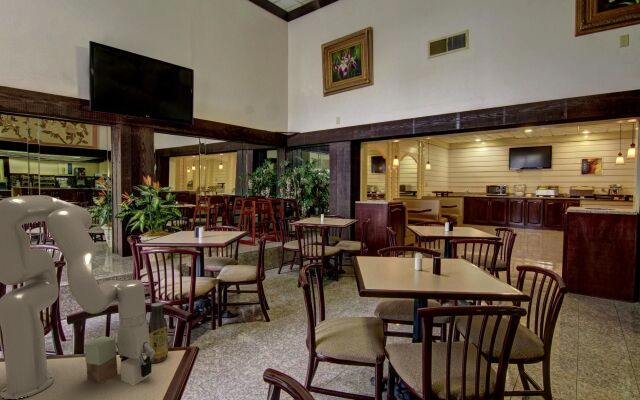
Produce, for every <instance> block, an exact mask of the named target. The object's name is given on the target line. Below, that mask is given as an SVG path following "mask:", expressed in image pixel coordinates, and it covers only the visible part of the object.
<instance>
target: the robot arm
mask: <svg viewBox="0 0 640 400" xmlns="http://www.w3.org/2000/svg"><path fill="white" fill-rule="evenodd" d="M38 222H45V227H46V229H47V231H48V233H49V234H50V237H52V239H53V242H55V244H56V246H57V248H58V249H59V251H60V252H61V254H62V257H64V259H65V261H66V264H67V269H66V274H67V275H66V276H67V284H68V288H69V290H70V293H71V294H72V296H73V298H74V300H75V301H76V303H77V304H78V305H79V307H80V308H81V309H82V310H83V311H84V312H86V313H88V314H92V315H93V314H99V313H102V312H103V311H105V310H107V309H108V308H109V307H111V306H112V305H115V304H116V303H117V309H118V321H119V324H118V327H117V342H116V349H117V353H118V354H119V359H120V363H121V362H123V361H125V360H127V359H128V358H132V359H140V361H141V363H142V365H141V376H142V377H145V376H147V375H148V374H150V373H151V374H152V363H151V361H152V359H153V358H154V354H155V350H154V349H153V348H152V347H151V346H150V338H149V332H148V331H149V329H148V324H147V313H146V312H147V309H146V308H147V307H146V297H145V296H146V295H145V286H144V285H145V283H144V282H143V281H142V280H140V279H130V280H116V279H110V280H105V281H103V282H101V283H98V282H97V280H96V278H95V275H94V271H93V264H94V261H95V258H96V256H97V254H98V247H97V245H96V244H95V242H94V240H93V239H92V237H91V235H90V234H89V231H88V229H90V227H91V226H92V224H93V216H92V215H91V213H90V212H89V211H88V210H87V209H86V208H84V207H82V206H80V205H77V204H73V203H71V202H68V201H65V200H62V199H59V198H56V197H53V196H50V195H42V194H39V195H17V196H11V197H6V198H3V199H1V200H0V283H2V284H3V285H6V286H15V285H20V284H22V283H24V285H22V286H20V287H17V288H14V289H12V290H11V291H8V292H6V293H5V294H3V295H2V296H1V297H0V328H1V335H2V343H3V353H4V364H5V365H4V366H5V377H6V378H5V379H6V386H5V387H4V388H3V389H2V390H1V391H0V398H1V397H2V398H4V399H16V398H21V397H25V398H28V397H31V396H34V395H37V394H39V393H40V392H42V391H44V390H46V389H48V388H49V387H50V386H52V384H53V383H54V381H55V376H54V375H53V374H52V373H48V365H47V364H48V363H47V353H46V352H47V351H46V339H45V328H44V324H43V322H42V320H41V318H40V317H39V315H38V313H40V312H41V311H44V310H45V309H47V308H49V307H51V306H52V305H53V304H54V303H55V302H56V301H57V299H58V297H59V282H58V276H57V270H56V265H55V264H56V263H55V261H54V258H53V256H52V255H51V254H50V253H49V252H48V251H47V250H45V249H43V248H38V247H36V248H31V244H30V242H31V241H30V237H29V235H28V233H27V232H26V230H25V229H24V228H23V225H25V224H31V223H38ZM143 356H146V357H147V358H146V359H144V358H143ZM27 396H28V397H27ZM2 398H1V399H2ZM4 399H3V400H4Z"/></svg>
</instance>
